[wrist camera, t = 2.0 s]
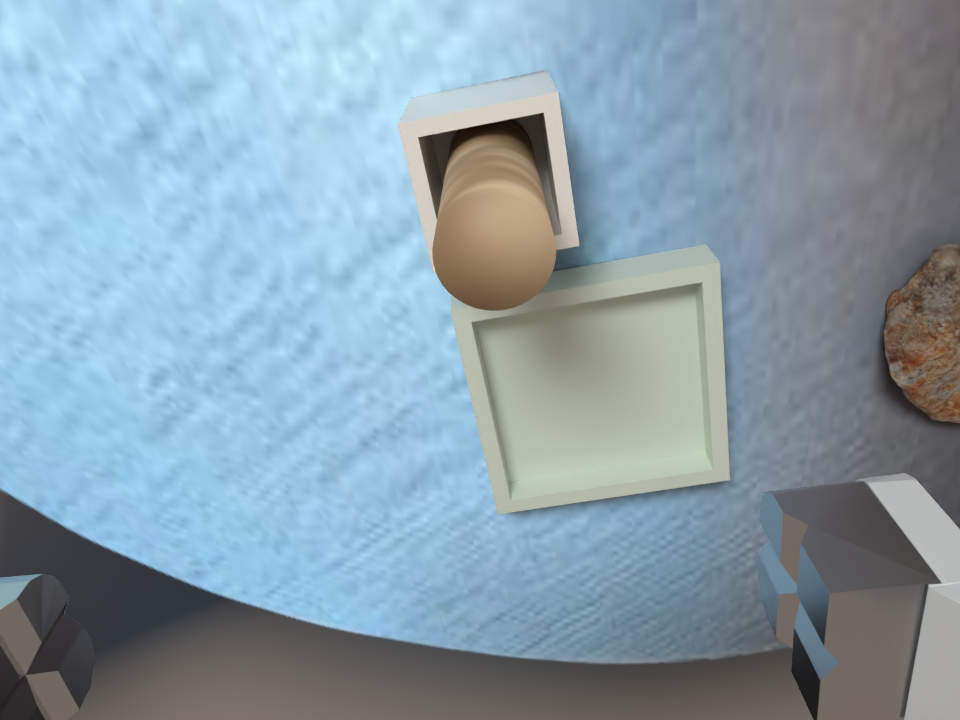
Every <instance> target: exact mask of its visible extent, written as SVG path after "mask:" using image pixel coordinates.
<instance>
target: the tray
mask: <svg viewBox="0 0 960 720" xmlns="http://www.w3.org/2000/svg"><path fill="white" fill-rule="evenodd" d="M450 310H451V314H452V319H453V323H454V327H455V332H456V336H457V340H458V345H459V349H460V353H461V357H462V362H463V366H464V370H465V375H466V379H467V383H468V388H469V392H470V396H471V400H472V405H473V409H474V413H475V418H476V422H477V426H478V431H479V435H480V439H481V443H482V448H483V452H484V456H485V461H486V465H487V469H488V474H489V478H490V482H491V486H492V491H493V495H494V499H495V504H496V508H497V512H498V514H504V513H511V512H517V511H524V510H531V509H538V508H544V507H551V506H558V505H565V504H571V503H578V502H585V501H592V500H599V499H605V498H612V497H619V496H626V495H632V494H639V493H646V492H653V491H660V490H666V489H673V488H680V487H687V486H693V485H700V484H707V483H714V482H720V481H727V480H730V472H729V450H728V429H727V407H726V386H725V364H724V342H723V321H722V299H721V277H720V262H719V261H718V259H717V258H716V257H715V255H714V254H713V253H712V251H711V250H710V249H709V247H708V246H707V245H706V244H705V245H699V246H694V247H688V248H682V249H677V250H671V251H666V252H660V253H654V254H649V255H643V256H637V257H632V258H626V259H620V260H615V261H609V262H603V263H598V264H592V265H587V266H581V267H575V268H570V269H564V270H558V271H553V272H552V274H551V276H550V278H549V280H548V282H547V283H546V285H545V286H544V287H543V289H542V290H541V291H540V292H539V293H538V294H537V295H536V296H534V297H533V298H532V299H530V300H529V301H527V302H526V303H524V304H522V305H520V306H517V307H514V308H511V309H506V310H499V311H489V310H481V309H477V308H474V307H471V306H468V305H466V304H464V303H462V302H461V301H459V300H458V299H456V298H455V297H453V296H452V297H451V308H450Z"/></svg>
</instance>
